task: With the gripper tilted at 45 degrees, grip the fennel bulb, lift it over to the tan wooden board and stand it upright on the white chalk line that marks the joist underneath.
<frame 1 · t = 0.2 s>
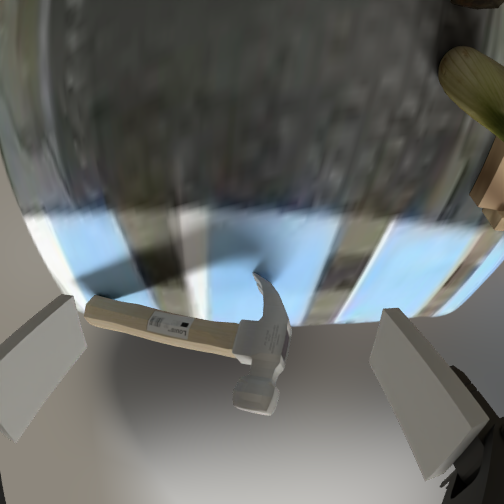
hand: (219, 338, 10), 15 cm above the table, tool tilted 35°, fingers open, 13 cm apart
fennel bulb: (453, 67, 13), on the table
hammer: (175, 289, 37), on the table
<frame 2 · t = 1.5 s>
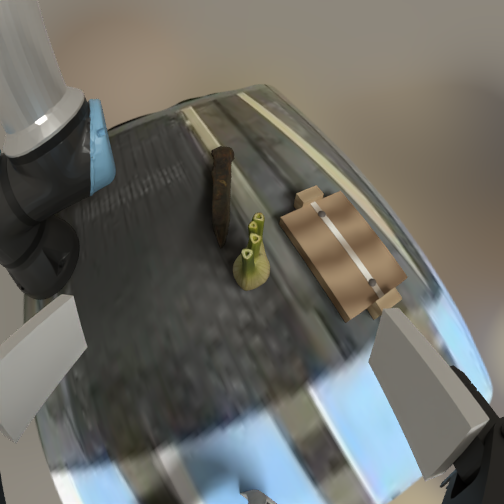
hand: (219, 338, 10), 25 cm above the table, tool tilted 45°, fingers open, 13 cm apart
fennel bulb: (250, 276, 39), on the table
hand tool: (225, 200, 46), on the table
tan wooden board: (342, 253, 41), on the table
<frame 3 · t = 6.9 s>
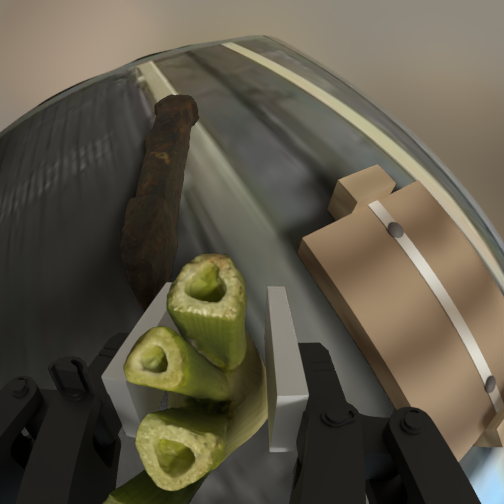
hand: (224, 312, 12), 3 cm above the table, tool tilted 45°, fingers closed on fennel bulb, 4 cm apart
fennel bulb: (224, 393, 14), on the table, touching gripper
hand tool: (175, 197, 21), on the table
tan wooden board: (433, 319, 16), on the table
when the fingers open (6 cm above the table, at t = 12.5 s): fennel bulb stays where it is, resting on tan wooden board.
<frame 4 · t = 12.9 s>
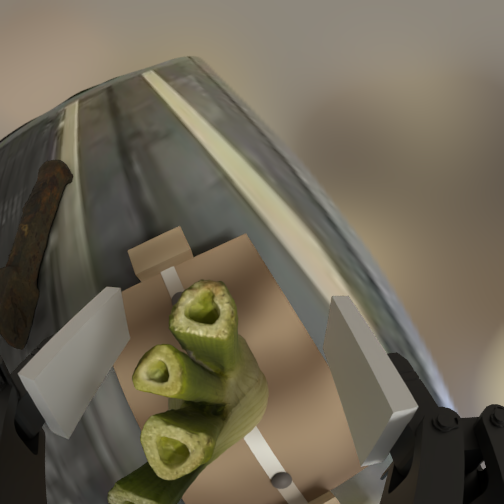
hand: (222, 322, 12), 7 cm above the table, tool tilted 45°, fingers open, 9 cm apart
fennel bulb: (222, 394, 15), point 2 cm above the table, touching tan wooden board
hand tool: (45, 254, 21), on the table
tan wooden board: (229, 393, 16), on the table
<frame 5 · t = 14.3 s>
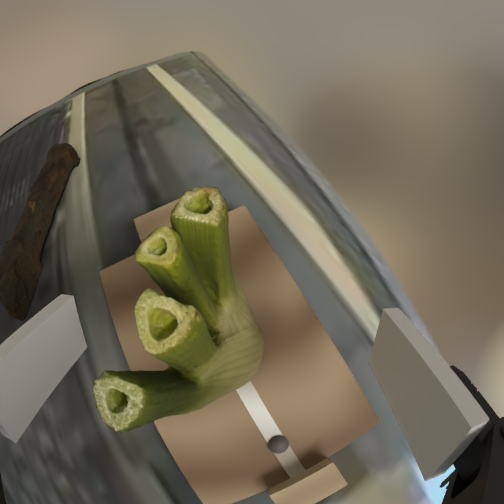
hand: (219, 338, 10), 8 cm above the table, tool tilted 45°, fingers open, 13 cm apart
fennel bulb: (220, 353, 16), point 2 cm above the table, touching tan wooden board
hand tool: (50, 232, 22), on the table
tan wooden board: (227, 356, 17), on the table
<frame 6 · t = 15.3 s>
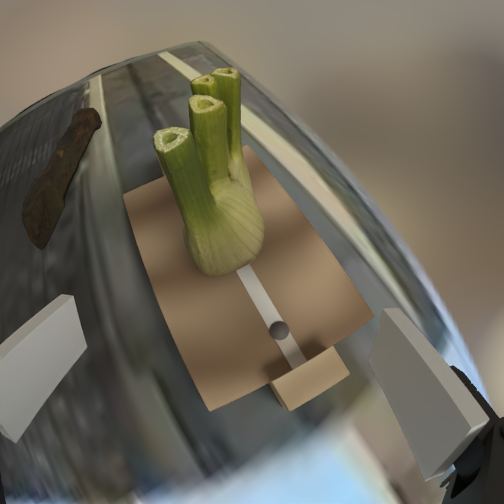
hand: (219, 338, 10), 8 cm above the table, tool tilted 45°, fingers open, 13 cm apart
fennel bulb: (226, 249, 19), point 2 cm above the table, touching tan wooden board
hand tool: (73, 179, 26), on the table
tan wooden board: (232, 260, 21), on the table
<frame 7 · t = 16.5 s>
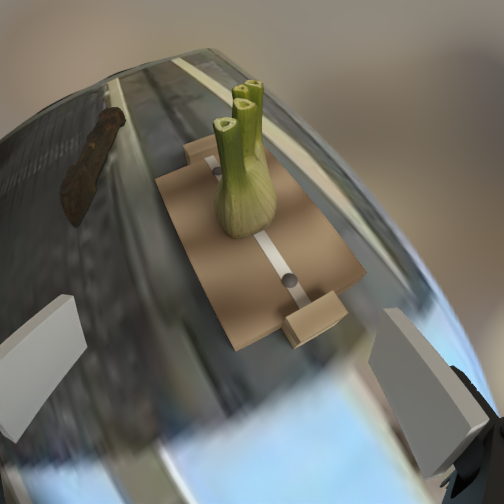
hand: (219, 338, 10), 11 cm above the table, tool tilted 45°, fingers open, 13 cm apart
fennel bulb: (245, 219, 24), point 2 cm above the table, touching tan wooden board
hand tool: (102, 168, 31), on the table
tan wooden board: (249, 231, 25), on the table
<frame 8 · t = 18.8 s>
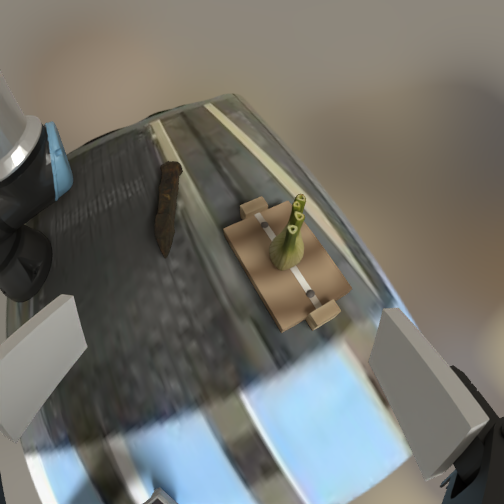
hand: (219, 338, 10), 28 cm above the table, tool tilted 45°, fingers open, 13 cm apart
fennel bulb: (284, 258, 41), point 2 cm above the table, touching tan wooden board
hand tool: (172, 212, 48), on the table
tan wooden board: (285, 263, 43), on the table
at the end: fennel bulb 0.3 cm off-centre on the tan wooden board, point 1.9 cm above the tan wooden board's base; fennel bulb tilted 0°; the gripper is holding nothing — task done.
